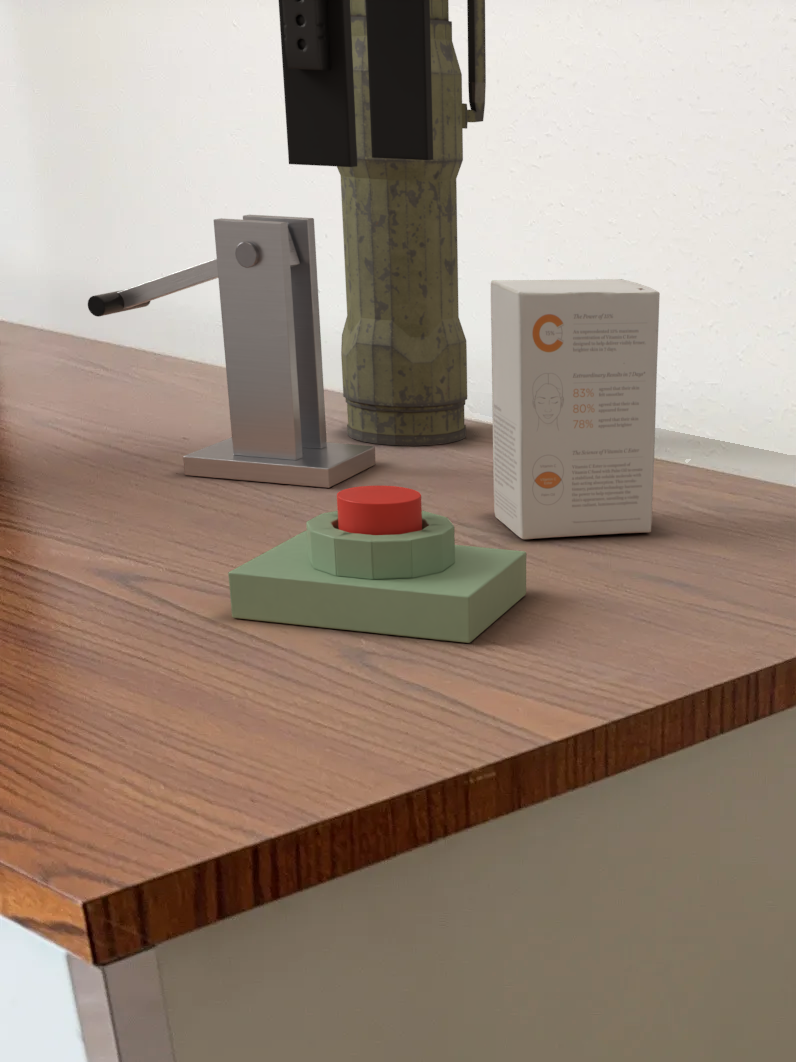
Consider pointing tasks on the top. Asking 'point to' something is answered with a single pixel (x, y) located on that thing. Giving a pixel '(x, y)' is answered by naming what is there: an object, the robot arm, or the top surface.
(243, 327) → the bracket
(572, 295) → the small box
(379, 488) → the button
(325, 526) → the button box
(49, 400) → the top surface
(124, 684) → the top surface
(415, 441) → the thermos
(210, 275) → the lever
